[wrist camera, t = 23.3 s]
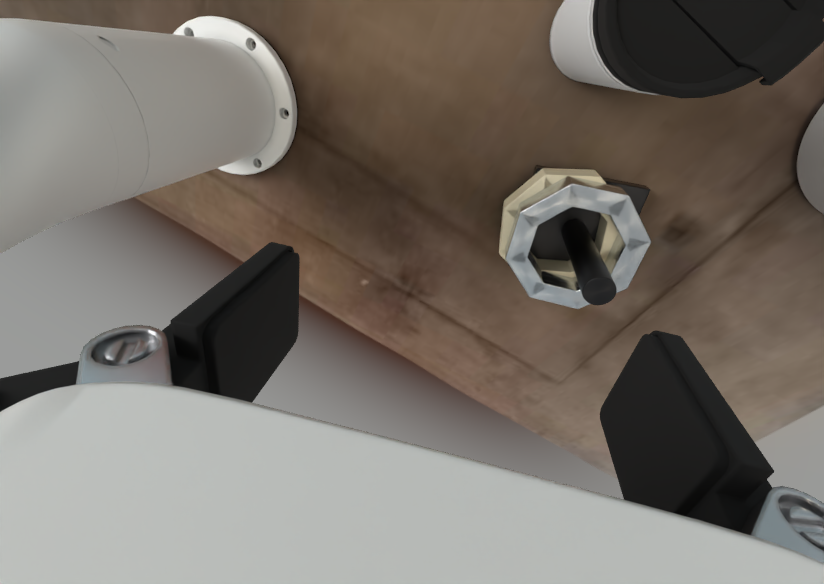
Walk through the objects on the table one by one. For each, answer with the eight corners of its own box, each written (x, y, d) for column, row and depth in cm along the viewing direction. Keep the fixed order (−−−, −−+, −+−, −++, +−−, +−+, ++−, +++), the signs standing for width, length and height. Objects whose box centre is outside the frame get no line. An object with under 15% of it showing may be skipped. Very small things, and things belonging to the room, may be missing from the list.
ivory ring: (496, 271, 38) (495, 282, 36) (507, 166, 33) (507, 173, 31) (604, 279, 36) (611, 292, 34) (632, 170, 31) (641, 178, 29)
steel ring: (496, 276, 35) (495, 289, 33) (530, 167, 30) (532, 174, 28) (606, 303, 34) (612, 318, 32) (659, 195, 30) (671, 204, 27)
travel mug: (594, 103, 31) (707, 148, 14) (530, 44, 30) (565, 11, 13) (668, 24, 28) (934, -47, 10) (599, -46, 27) (771, -251, 9)
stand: (507, 260, 38) (508, 332, 28) (536, 164, 34) (549, 208, 23) (604, 280, 37) (642, 363, 27) (646, 185, 33) (712, 240, 22)
